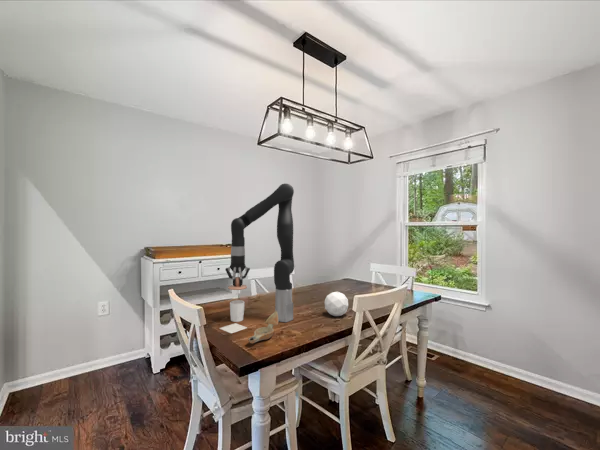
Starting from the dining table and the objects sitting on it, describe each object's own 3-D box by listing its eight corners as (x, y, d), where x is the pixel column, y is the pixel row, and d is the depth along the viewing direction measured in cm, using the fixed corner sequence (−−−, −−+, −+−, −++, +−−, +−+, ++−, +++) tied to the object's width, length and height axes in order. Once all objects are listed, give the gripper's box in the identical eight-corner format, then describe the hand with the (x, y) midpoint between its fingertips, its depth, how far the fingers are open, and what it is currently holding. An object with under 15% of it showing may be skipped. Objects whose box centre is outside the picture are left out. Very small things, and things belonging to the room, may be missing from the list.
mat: (247, 328, 140) (247, 327, 140) (231, 334, 132) (231, 333, 132) (235, 323, 146) (235, 323, 146) (219, 329, 139) (219, 328, 139)
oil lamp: (283, 332, 135) (283, 312, 136) (257, 349, 117) (257, 325, 117) (268, 329, 139) (268, 309, 140) (241, 345, 121) (241, 322, 121)
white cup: (238, 317, 158) (238, 299, 158) (247, 320, 153) (247, 301, 153) (226, 320, 151) (226, 302, 152) (235, 323, 146) (235, 304, 146)
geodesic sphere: (332, 299, 176) (327, 283, 168) (354, 302, 168) (349, 286, 161) (324, 318, 165) (318, 303, 158) (347, 323, 158) (341, 307, 151)
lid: (250, 287, 153) (250, 277, 153) (235, 290, 145) (235, 279, 145) (239, 285, 159) (239, 274, 159) (224, 287, 152) (224, 277, 152)
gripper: (251, 253, 157) (250, 284, 156) (226, 253, 155) (225, 284, 155) (250, 255, 149) (249, 287, 149) (223, 255, 148) (223, 287, 148)
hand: (237, 285), depth 152 cm, fingers closed on lid, 2 cm apart
